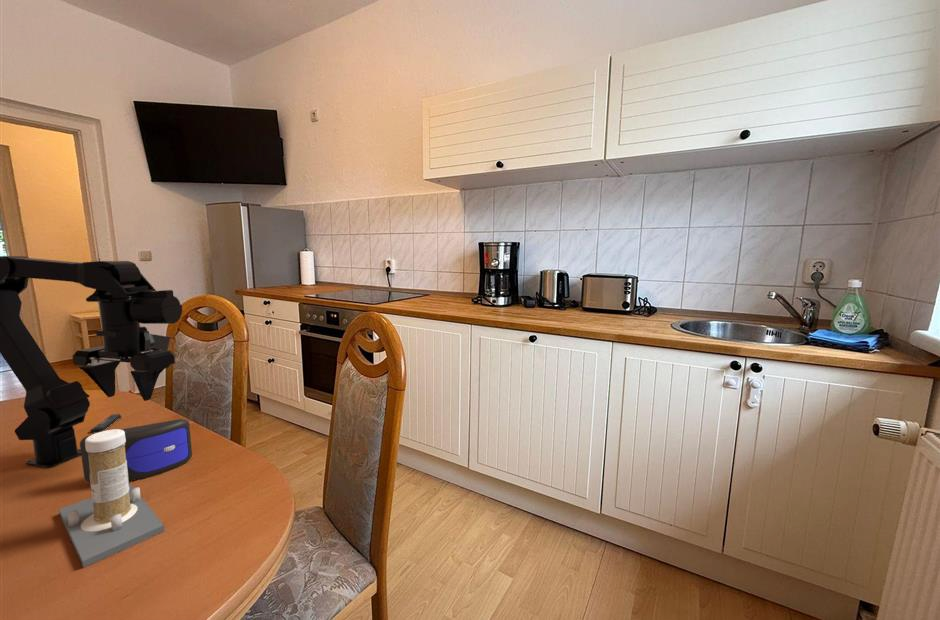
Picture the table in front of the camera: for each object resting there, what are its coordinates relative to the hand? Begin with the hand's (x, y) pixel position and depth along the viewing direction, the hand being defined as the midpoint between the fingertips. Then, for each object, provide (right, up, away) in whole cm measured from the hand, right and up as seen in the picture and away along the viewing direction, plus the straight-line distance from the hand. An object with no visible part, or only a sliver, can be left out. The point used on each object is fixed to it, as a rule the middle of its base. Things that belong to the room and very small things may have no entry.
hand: (129, 398), depth 79 cm
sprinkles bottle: (+13, -15, -18) cm, 27 cm away
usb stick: (-21, -11, +17) cm, 29 cm away
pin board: (+13, -16, -18) cm, 27 cm away
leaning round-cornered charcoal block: (+6, -14, -3) cm, 15 cm away
